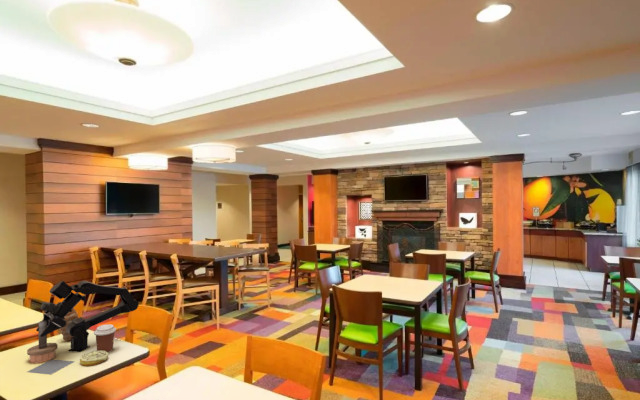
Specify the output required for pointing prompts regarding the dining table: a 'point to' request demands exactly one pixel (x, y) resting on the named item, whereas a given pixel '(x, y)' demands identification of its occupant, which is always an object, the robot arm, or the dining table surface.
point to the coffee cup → (105, 337)
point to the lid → (42, 343)
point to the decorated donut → (93, 358)
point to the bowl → (42, 357)
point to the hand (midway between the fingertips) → (38, 333)
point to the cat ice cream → (68, 319)
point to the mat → (50, 366)
